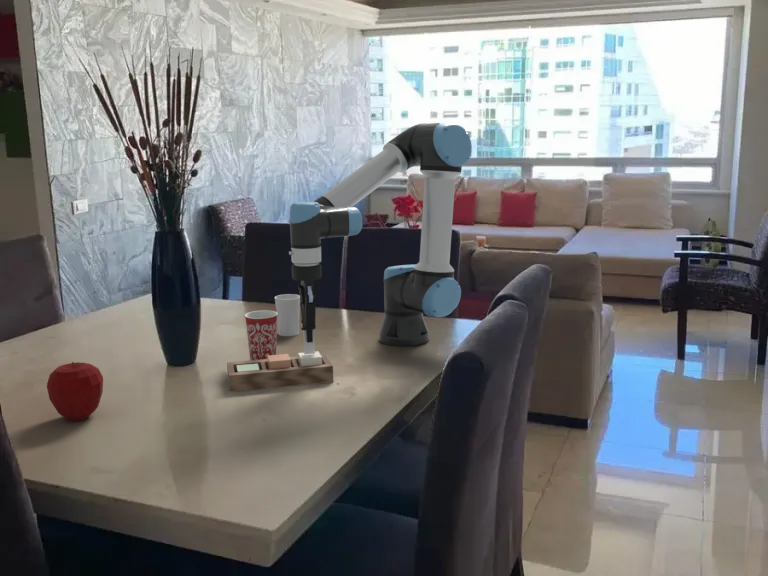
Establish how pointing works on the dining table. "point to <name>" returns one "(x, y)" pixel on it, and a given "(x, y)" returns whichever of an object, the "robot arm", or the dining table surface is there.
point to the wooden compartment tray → (278, 375)
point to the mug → (261, 333)
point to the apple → (75, 390)
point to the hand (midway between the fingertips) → (309, 353)
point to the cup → (288, 314)
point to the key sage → (247, 367)
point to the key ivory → (309, 359)
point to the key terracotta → (279, 361)
